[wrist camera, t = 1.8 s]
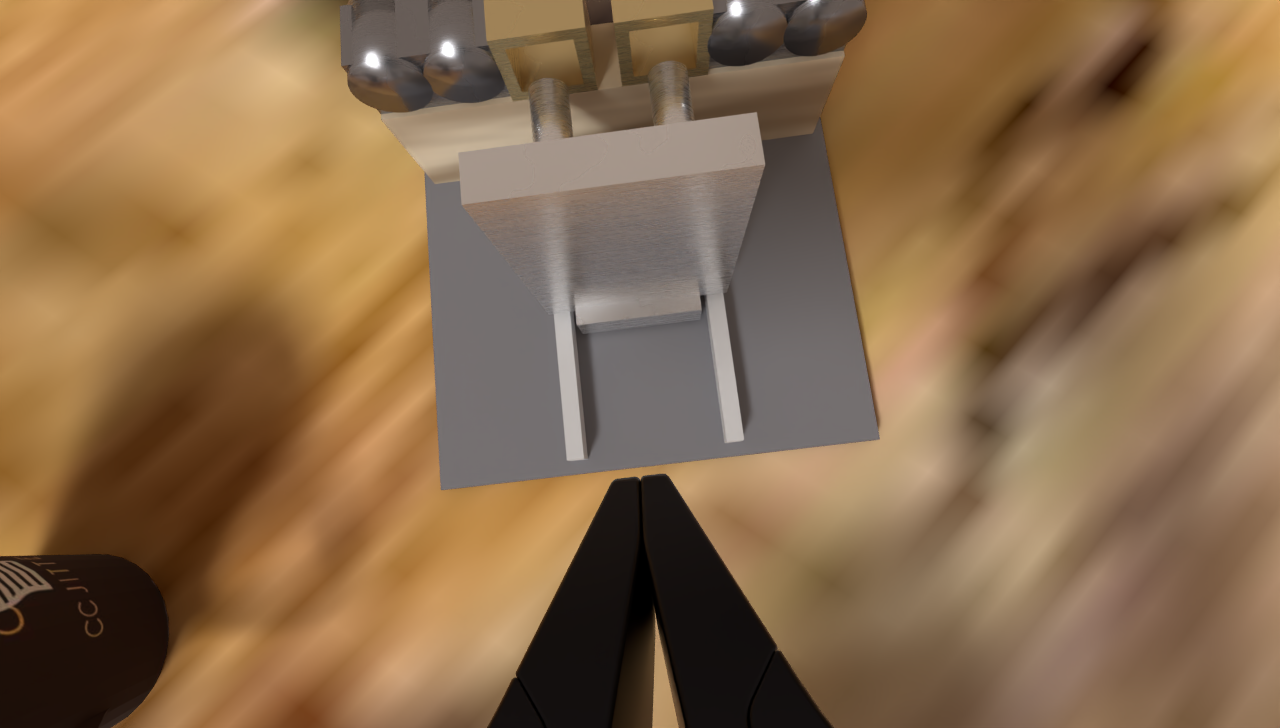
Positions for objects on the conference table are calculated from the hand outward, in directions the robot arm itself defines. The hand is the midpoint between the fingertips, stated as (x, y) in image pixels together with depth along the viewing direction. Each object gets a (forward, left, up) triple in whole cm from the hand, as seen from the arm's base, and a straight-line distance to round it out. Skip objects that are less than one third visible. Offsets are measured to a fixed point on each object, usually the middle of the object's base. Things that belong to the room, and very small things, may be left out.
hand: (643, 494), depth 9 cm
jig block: (+12, -7, -12) cm, 19 cm away
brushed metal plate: (+7, -5, -12) cm, 15 cm away
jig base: (+7, -4, -13) cm, 15 cm away
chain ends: (+12, -7, -8) cm, 16 cm away
